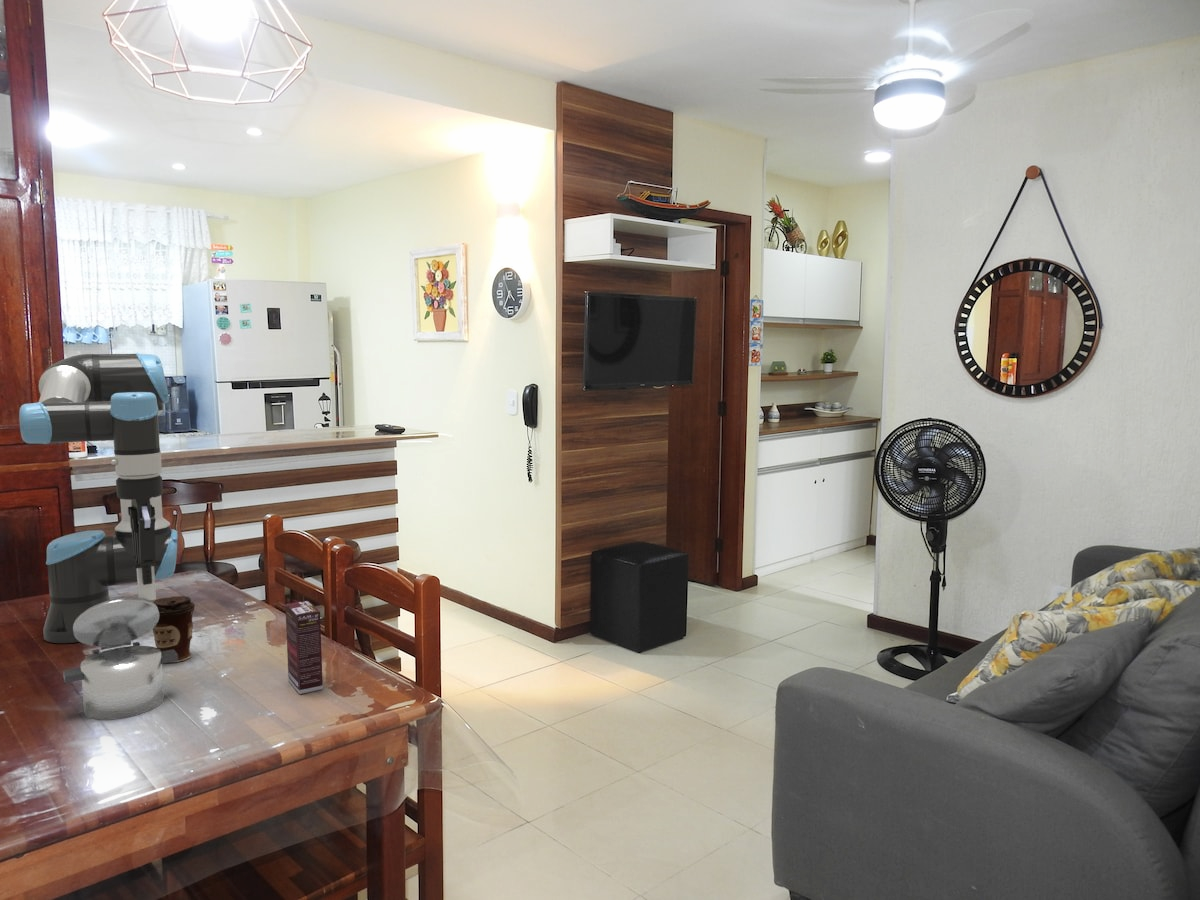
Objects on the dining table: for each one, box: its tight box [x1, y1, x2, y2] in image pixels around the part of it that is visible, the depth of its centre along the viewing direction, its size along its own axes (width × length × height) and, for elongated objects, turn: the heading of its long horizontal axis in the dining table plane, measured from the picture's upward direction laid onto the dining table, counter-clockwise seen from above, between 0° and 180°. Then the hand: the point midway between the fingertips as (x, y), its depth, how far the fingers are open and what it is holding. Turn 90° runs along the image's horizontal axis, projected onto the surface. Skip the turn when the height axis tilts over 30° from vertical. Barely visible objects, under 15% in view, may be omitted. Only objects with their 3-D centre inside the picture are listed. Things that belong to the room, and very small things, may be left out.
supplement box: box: [285, 600, 324, 695], centre depth 165 cm, size 9×5×16 cm, turn 34°
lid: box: [73, 596, 159, 651], centre depth 158 cm, size 15×14×4 cm
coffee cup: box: [152, 595, 195, 664], centre depth 179 cm, size 9×8×13 cm
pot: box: [62, 641, 178, 721], centre depth 157 cm, size 14×18×9 cm
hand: (147, 599), depth 158 cm, fingers closed
